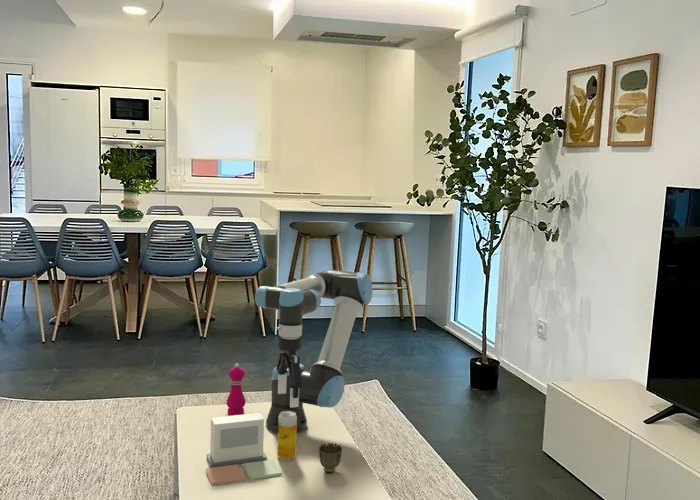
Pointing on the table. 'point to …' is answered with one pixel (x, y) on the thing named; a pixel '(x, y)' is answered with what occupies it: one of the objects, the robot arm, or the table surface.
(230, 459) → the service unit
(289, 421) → the beer can
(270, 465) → the sage pad
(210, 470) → the terracotta pad
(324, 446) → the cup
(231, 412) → the pepper mill
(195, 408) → the table surface
